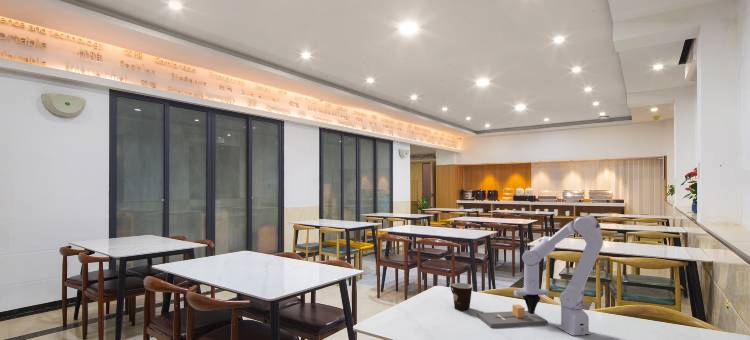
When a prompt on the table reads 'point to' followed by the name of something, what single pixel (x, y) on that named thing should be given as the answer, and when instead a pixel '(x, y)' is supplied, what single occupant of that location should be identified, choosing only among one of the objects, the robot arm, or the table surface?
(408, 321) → the table surface
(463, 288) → the coffee mug
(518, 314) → the fader knob
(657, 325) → the table surface
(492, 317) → the board
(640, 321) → the table surface
